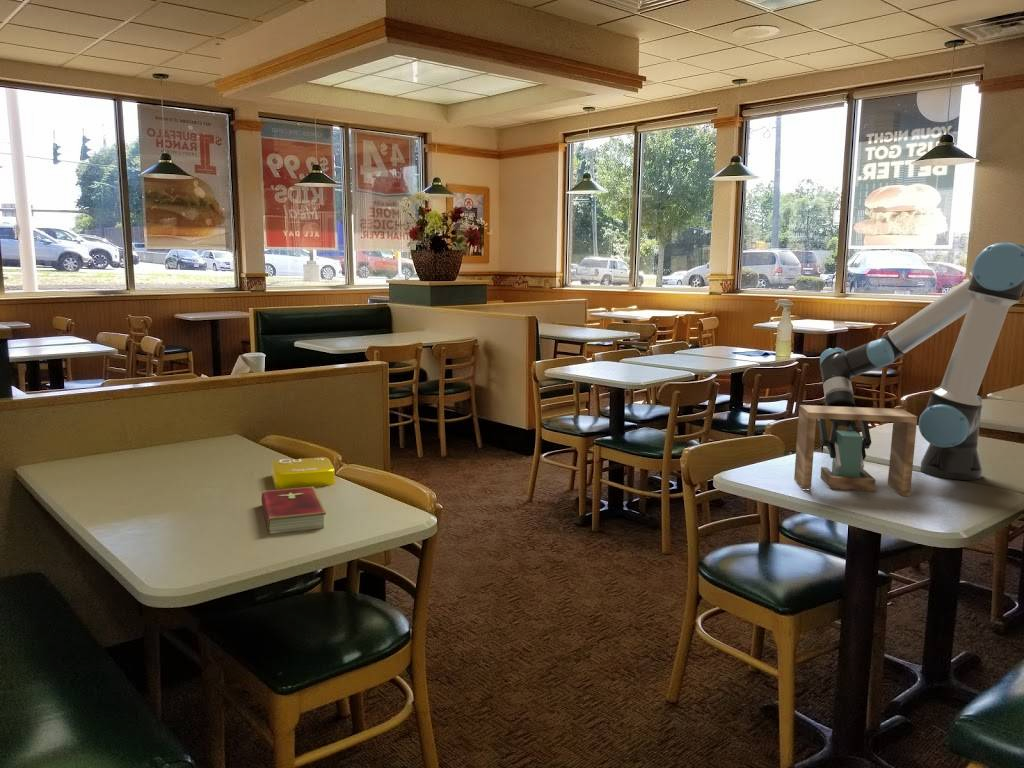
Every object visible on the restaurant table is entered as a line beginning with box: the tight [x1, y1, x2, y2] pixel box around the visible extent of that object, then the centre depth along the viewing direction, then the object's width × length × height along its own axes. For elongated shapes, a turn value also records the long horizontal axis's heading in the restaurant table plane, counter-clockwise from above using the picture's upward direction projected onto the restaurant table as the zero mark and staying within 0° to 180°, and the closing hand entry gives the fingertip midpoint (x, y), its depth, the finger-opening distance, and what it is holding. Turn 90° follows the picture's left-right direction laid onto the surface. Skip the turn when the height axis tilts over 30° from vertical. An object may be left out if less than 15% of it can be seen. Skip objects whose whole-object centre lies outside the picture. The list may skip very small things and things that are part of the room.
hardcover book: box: [261, 487, 327, 535], centre depth 173 cm, size 12×21×4 cm, turn 21°
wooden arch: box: [793, 404, 918, 497], centre depth 203 cm, size 26×14×20 cm, turn 81°
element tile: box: [270, 456, 336, 490], centre depth 203 cm, size 15×15×5 cm
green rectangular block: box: [831, 429, 863, 477], centre depth 206 cm, size 5×8×12 cm, turn 171°
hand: (849, 468), depth 203 cm, fingers closed on green rectangular block, 5 cm apart
